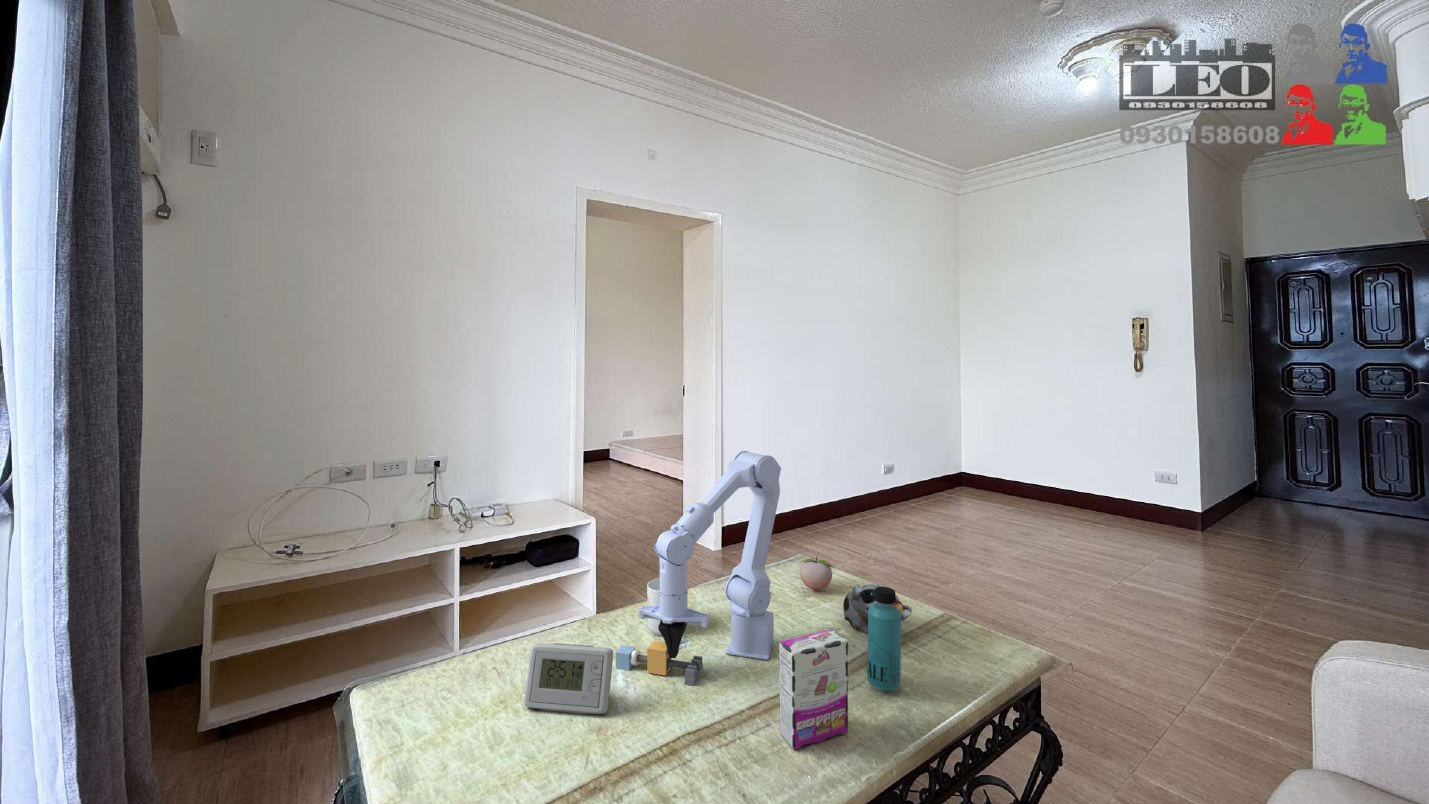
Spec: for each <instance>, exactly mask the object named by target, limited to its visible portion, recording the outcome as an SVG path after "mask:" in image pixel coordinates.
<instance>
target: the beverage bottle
mask: <svg viewBox="0 0 1429 804" xmlns="http://www.w3.org/2000/svg"><path fill="white" fill-rule="evenodd" d="M896 595H897V594H896V590H894V589H893V588H892V587H888V586H884V587H877V588H875V591H874V600H875V601H876V602H878V603H875V604H873V605H872V606H871V607H870V608H869V609H868V622H867V623H868V629H867V633H868V634H867V633H866V634H867V636H866V637H867V646H866V647H867V649H866V652H867V658H866V663H867V670H866V677H867V681H868V683H869V684H870V686H872V687H874V688H876V689H878V690H882V691H894V690H897V689H898V688H899V687H900V684H901V675H902V674H901V673H902V668H901V667H902V659H901V658H902V650H901V640H902V639H901V638H902V637H901V633H902V631H901V630H902V622H901V616H902V615H901V612H900V611H899V610H898V609H897V608H896V607H895V606H894V605H892V604H894V603H895V602H896Z"/></svg>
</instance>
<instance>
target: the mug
mask: <svg viewBox="0 0 1429 804" xmlns="http://www.w3.org/2000/svg"><path fill="white" fill-rule="evenodd" d="M646 597H647V598H646V606H660V577H657V578H654V579H652V580H649V582H647V583H646ZM646 621H647V622H646V623H647V629H648V630H649V631H650V632H651V633H652V634H653V635H655V636H659V637H663V636H662V635H661V633H660V631H659V629H658V625H659V624H660V620H658V619H651V618H646Z"/></svg>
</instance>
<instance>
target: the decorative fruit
mask: <svg viewBox="0 0 1429 804" xmlns="http://www.w3.org/2000/svg"><path fill="white" fill-rule="evenodd" d="M800 563H802V564H801V566H800V568H799V569H800V570H799V577H800V579H801V581H802V583H803V584H804V585H805V587H806V588H809V589H811V590H813V591H814V592H817V591H820V590H823V589H825V588H827V587H828V586H829V585H830V584H831V582H832V579H833V570H832V568H834V566H833V564H831V563H830V562H829V561H827V560H823V559H818V556H815V559H814V558H809V557H808V558H804V559H802V560H801V561H800Z"/></svg>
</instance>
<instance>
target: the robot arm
mask: <svg viewBox="0 0 1429 804" xmlns="http://www.w3.org/2000/svg"><path fill="white" fill-rule="evenodd" d="M781 471H782V467H781V465H780V464H779V462H778V461H777V460H776V458H775V457H773V456H772V455H769V454H768V455H764V454H761V453H754V452H750V451H748V450H741V451H739V452H738V453H737V454H736V455H734V457H733V458H732V459H731V460H730V461H729V462H728V464H727V469H726V471H725V472H724V473H723V475H722V476H721V477H720V479H719V480H718V481H717V482H716V483H715V485H714V486H713V487H712V489H711V490H710V491H709V493H707V495H706V496H705V497H704V499H703V500H702V502H696V503H695V502H694V503H692V505H688V506H687V507H685V512H684V514H683V515H682V516H681V517H680V518H679V519H678V520H677V521H676V523H675V524H672V525H671V527H670V529H668V530H666V531H665V530H664V532H662V533H660V535H659V536H658V538H657V540H656V543H655V544H654V545H653V548H654V551H655V553H656V555H657V556H658V558H659V559H658V560H659V562H658V563H659V578H660V606H647V605H642V606H641V607H640V608H639V609H638V610H639V611H638V612H639V613H638V619H640V620H644V619H647V618H651V619H658V620H660V624H659V625H658V629H659V631H660V633H661V635H662V636H661V637H662V638H663V640H664V641H663V642H665V643H666V646H667V650H668V654H669V658H672V659H676V658H677V656H678V655H679V651H680V646H681V645H680V644H681V642H682V638H683V635H684V632H685V631H686V629H687V626H688V625H689V624H690V625H696V626H700V627H701V628H707V627H708V625H709V624H710V614H709V613H705V612H701V611H697V610H694V609H691V608H688V603H689V602H688V598H689V595H688V594H689V593H688V588H689V587H688V582H689V581H688V579H689V578H688V573H689V572H688V569H689V568H688V567H689V566H688V565H689V564H688V562H689V560H691V558H692V557H693V554H694V552H695V550H694V549H695V546H696V545H697V542H698V541H699V539H700V538H701V537H703V535H704V534H705V533H706V531H707V530H709V528H710V527H711V526H712V524H714V521H715V519H714V518H715V517H714V515H715V513H716V512H717V511H718V510H719V509H720V508H721V506H722V505H724V504H725V503H726V501H728V500H729V499H730V498H731V497H732V496H733V495H734V494H735V492H737V491H738V489H740V488H742V489H743V488H749V489H750V490H751V493H753V495H754V498H753V502H752V505H751V506H752V507H751V511H750V516H749V520H748V526H747V530H746V535H745V541H744V544H743V545H744V546H743V549H742V555H741V559H740V563H739V564H738V565H736V566H735V567H733V568H732V572H731V575H730V577H729V578H728V580H727V582H726V583H725V588H724V593H725V597H726V598H727V600H729V606H730V609H731V610H730V611H731V613H730V614H731V615H730V618H731V619H730V620H731V621H730V624H731V625H730V627H731V628H730V629H731V631H730V633H731V634H730V635H731V636H730V643H729V645H728V647H727V649H726V650H725V654H726V655H732V656H738V657H744V658H750V659H758V660H765V661H768V660H769V659H770V656H771V654H772V651H773V648H774V645H775V640H774V639H775V637H774V635H775V634H774V633H775V632H774V631H775V629H774V628H775V625H774V624H775V617H774V612H772V611H769V610H768V608H769V606H770V604H771V592H770V590H771V579H770V578H769V576H768V574H767V572H766V569H765V568H766V562H767V558H768V554H769V548H770V544H771V539H772V534H773V529H774V523H775V519H776V513H777V511H778V510H777V509H778V504H779V499H780V494H781V488H780V476H781Z"/></svg>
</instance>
